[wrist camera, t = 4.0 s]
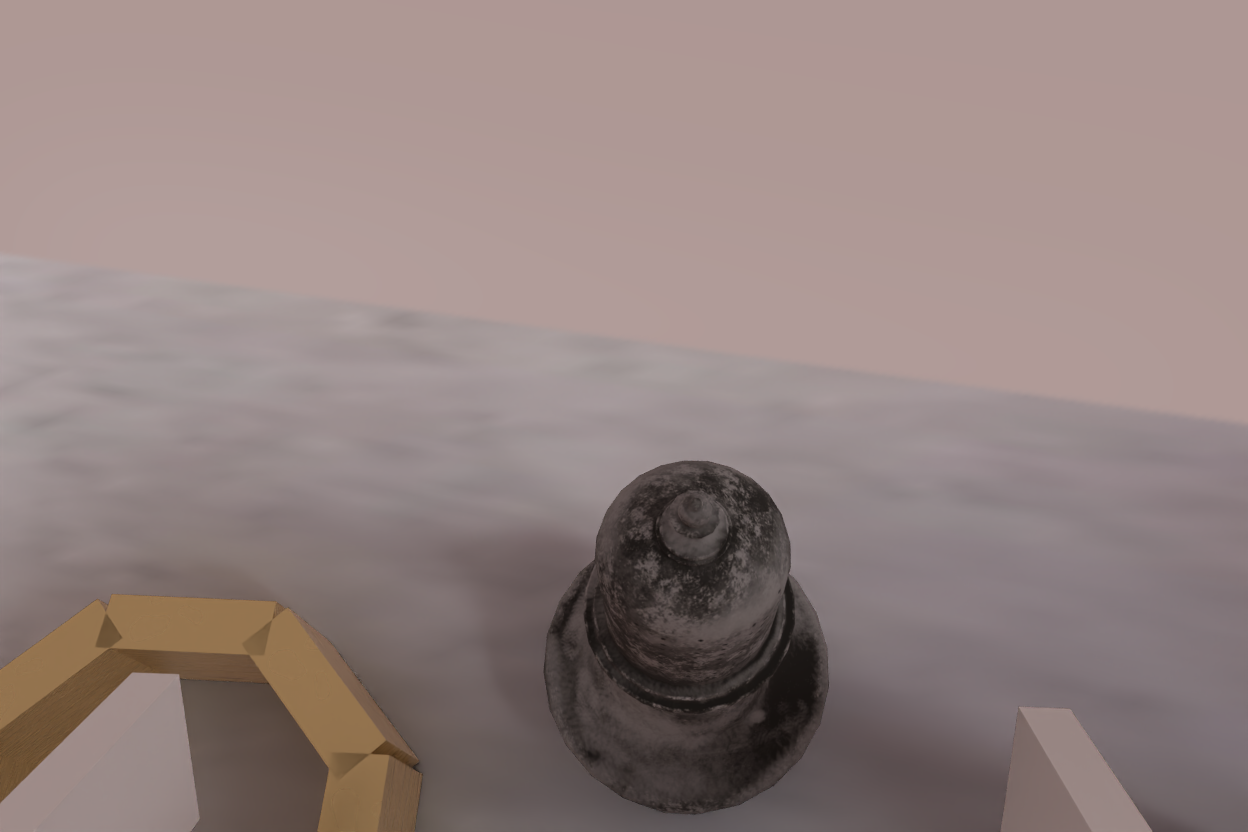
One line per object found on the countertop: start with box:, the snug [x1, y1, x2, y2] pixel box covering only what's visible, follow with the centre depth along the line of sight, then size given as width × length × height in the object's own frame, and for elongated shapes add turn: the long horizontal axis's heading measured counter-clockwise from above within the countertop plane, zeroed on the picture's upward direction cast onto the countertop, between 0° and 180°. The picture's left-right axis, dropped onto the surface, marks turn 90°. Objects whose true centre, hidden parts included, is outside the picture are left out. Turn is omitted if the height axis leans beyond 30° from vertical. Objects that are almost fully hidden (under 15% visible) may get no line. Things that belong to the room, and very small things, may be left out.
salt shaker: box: [544, 461, 829, 814], centre depth 18 cm, size 6×6×12 cm
